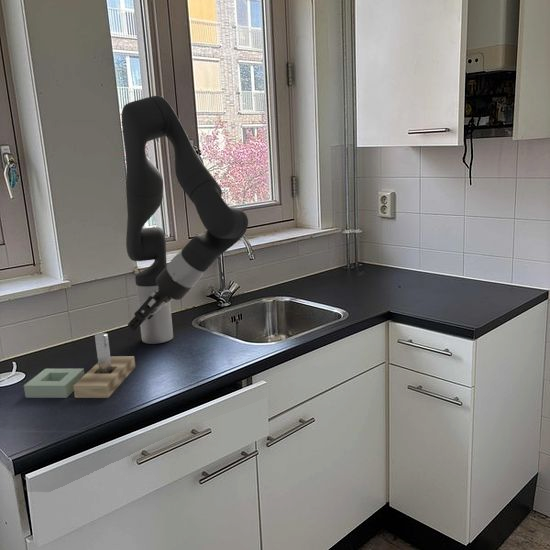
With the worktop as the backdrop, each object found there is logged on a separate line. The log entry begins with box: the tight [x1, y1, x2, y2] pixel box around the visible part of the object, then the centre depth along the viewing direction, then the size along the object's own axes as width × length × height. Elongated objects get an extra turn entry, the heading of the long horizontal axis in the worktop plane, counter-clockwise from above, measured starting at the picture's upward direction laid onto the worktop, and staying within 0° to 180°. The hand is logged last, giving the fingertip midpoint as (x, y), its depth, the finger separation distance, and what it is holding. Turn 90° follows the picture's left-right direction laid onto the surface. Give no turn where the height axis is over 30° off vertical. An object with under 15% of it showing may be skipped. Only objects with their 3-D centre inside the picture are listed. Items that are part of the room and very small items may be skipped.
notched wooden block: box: [73, 355, 136, 399], centre depth 136 cm, size 18×8×3 cm, turn 174°
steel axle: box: [94, 332, 112, 374], centre depth 135 cm, size 3×3×12 cm
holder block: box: [23, 368, 86, 399], centre depth 134 cm, size 10×10×3 cm
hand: (138, 322), depth 131 cm, fingers open, 8 cm apart
